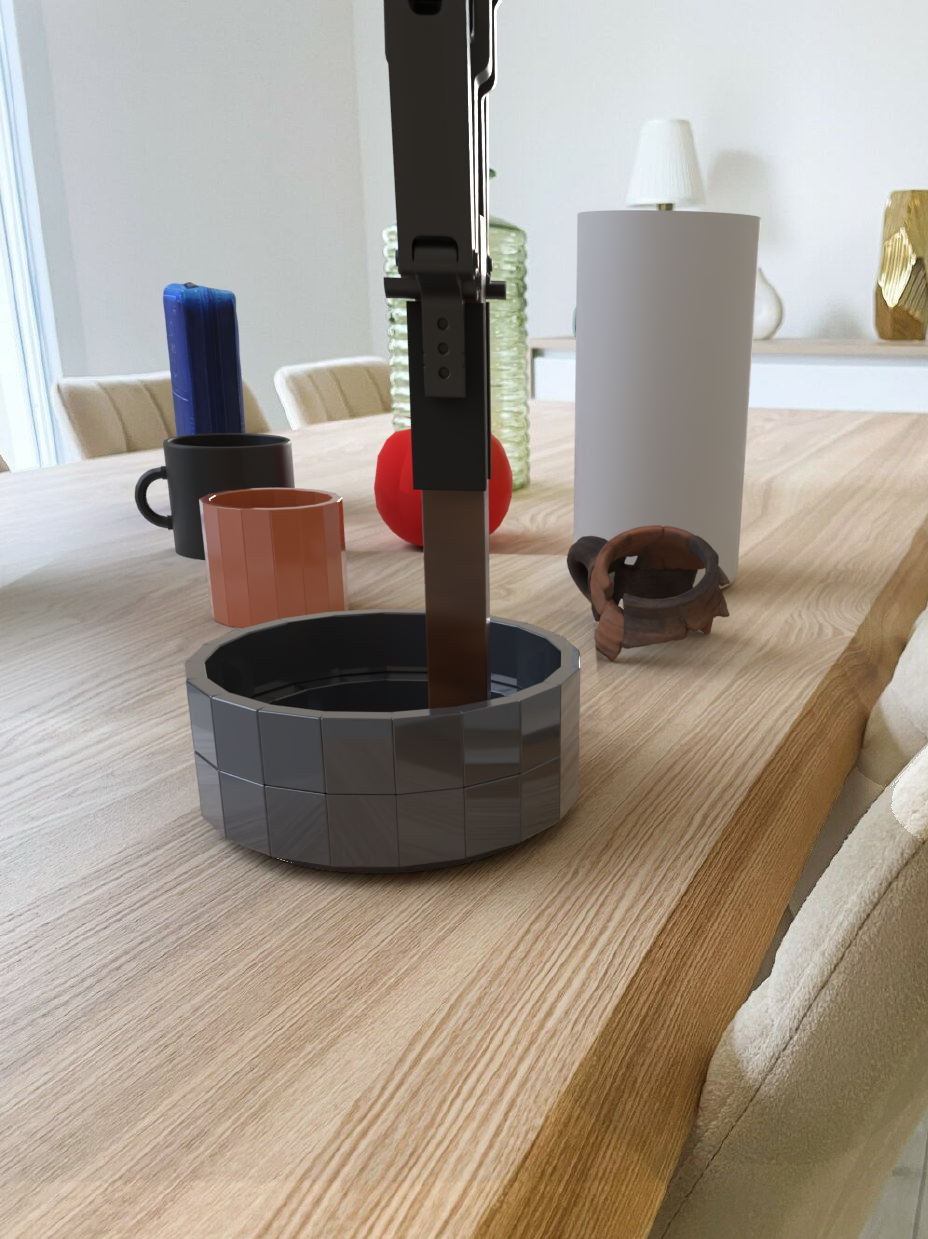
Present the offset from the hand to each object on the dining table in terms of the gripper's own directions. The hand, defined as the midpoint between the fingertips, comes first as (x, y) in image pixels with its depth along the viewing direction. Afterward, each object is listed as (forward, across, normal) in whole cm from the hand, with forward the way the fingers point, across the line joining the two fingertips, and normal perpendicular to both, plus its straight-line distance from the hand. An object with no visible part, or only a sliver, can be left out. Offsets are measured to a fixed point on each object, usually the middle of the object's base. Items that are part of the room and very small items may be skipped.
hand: (453, 481), depth 47 cm
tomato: (+14, +55, +6) cm, 57 cm away
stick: (+11, 0, 0) cm, 11 cm away
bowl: (+13, -1, +3) cm, 14 cm away
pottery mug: (+14, +25, -9) cm, 30 cm away
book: (+14, +69, +29) cm, 76 cm away
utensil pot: (+13, +28, +14) cm, 34 cm away
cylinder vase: (+14, +43, -11) cm, 47 cm away
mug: (+14, +48, +23) cm, 55 cm away
